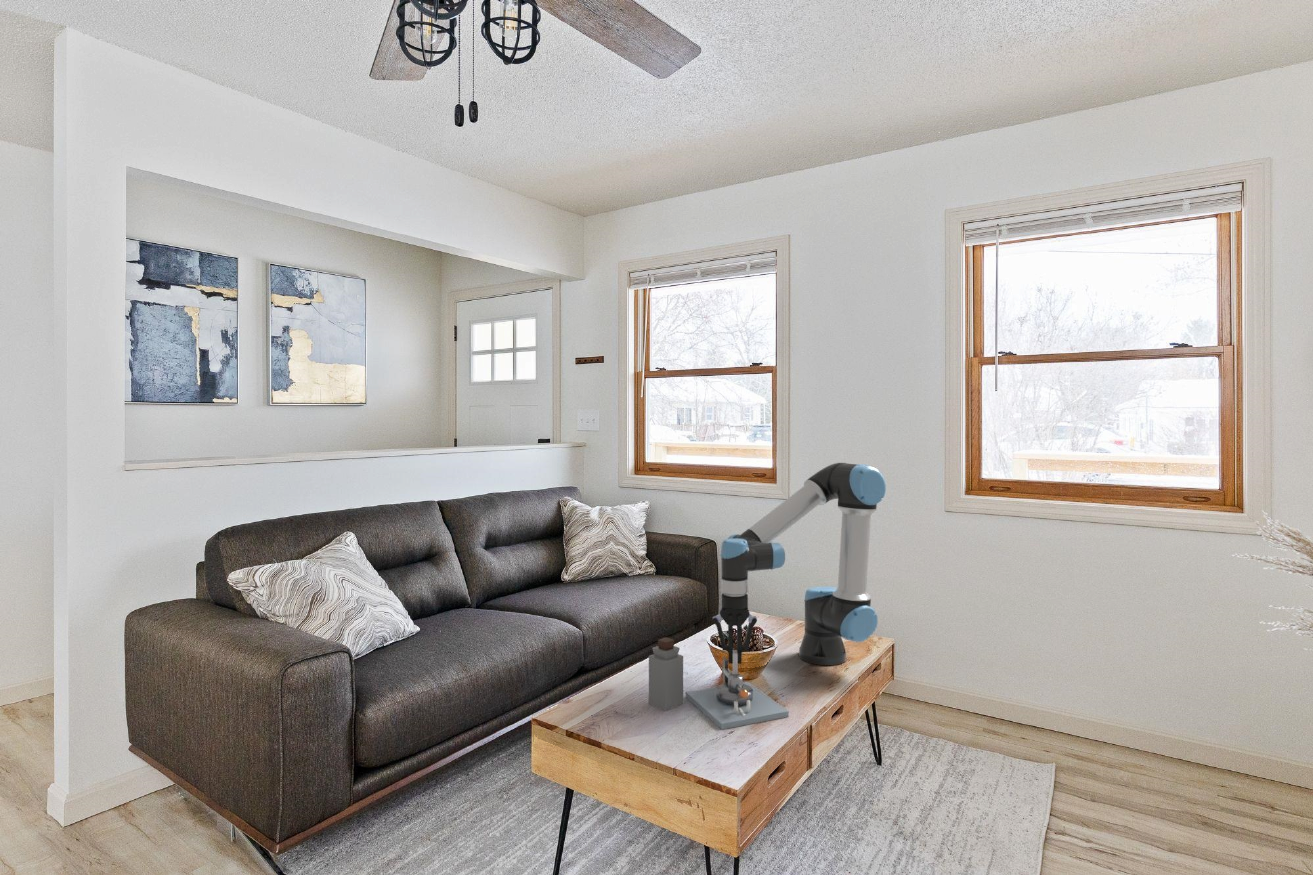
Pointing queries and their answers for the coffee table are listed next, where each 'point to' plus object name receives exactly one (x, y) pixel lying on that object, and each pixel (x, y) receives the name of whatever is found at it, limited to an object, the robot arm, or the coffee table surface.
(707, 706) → the stand
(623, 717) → the coffee table surface
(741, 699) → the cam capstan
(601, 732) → the coffee table surface
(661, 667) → the perfume bottle
